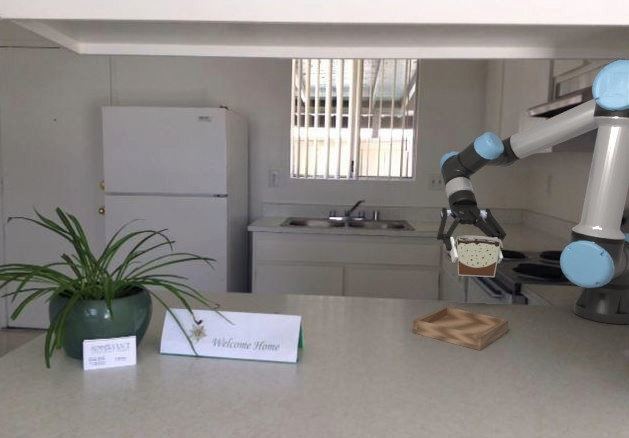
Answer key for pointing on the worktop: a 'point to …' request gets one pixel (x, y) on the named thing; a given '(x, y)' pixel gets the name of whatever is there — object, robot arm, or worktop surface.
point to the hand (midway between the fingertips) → (477, 260)
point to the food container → (477, 255)
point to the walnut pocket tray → (461, 327)
